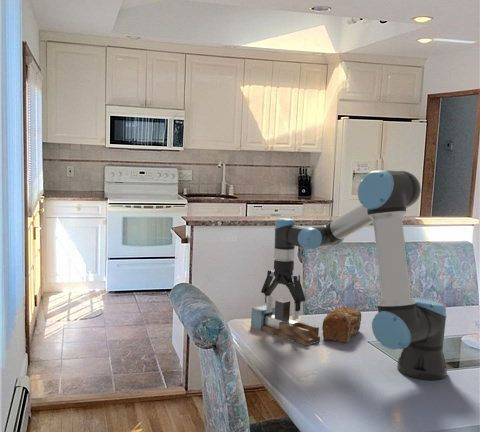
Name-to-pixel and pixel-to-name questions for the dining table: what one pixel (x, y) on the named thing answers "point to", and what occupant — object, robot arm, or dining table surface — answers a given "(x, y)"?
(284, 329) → the rail
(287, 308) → the grey and white block
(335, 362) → the dining table surface
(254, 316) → the socket
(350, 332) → the bread
